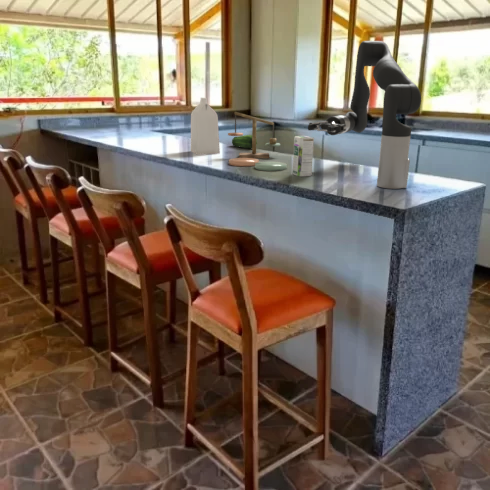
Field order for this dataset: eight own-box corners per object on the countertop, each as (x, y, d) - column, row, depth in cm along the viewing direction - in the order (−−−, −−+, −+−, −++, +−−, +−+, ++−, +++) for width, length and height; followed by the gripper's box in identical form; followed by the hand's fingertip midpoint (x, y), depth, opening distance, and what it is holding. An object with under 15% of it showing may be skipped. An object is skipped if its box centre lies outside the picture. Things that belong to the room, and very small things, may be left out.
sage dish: (285, 165, 203) (285, 161, 202) (288, 170, 190) (288, 166, 190) (254, 165, 202) (254, 161, 202) (255, 170, 190) (255, 166, 190)
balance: (279, 156, 227) (280, 111, 220) (280, 158, 221) (282, 112, 214) (228, 155, 227) (228, 111, 220) (227, 158, 220) (227, 112, 213)
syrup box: (291, 174, 184) (293, 135, 179) (305, 173, 186) (307, 135, 181) (298, 176, 179) (300, 137, 174) (312, 175, 181) (314, 137, 176)
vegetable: (251, 133, 244) (230, 130, 260) (245, 146, 244) (225, 142, 260) (261, 139, 248) (240, 136, 264) (256, 152, 249) (235, 148, 264)
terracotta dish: (258, 161, 212) (258, 157, 211) (259, 166, 200) (259, 162, 199) (229, 161, 212) (229, 157, 211) (228, 166, 199) (228, 162, 199)
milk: (219, 153, 234) (219, 98, 226) (197, 154, 230) (195, 98, 222) (212, 150, 245) (211, 97, 236) (190, 151, 241) (188, 97, 232)
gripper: (322, 114, 200) (303, 117, 188) (354, 116, 192) (335, 119, 180) (321, 132, 203) (302, 136, 191) (352, 135, 195) (334, 139, 183)
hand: (318, 128), depth 185 cm, fingers open, 8 cm apart
